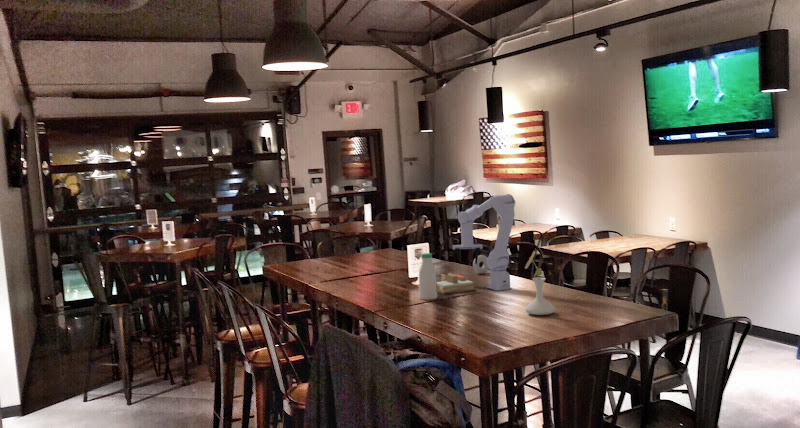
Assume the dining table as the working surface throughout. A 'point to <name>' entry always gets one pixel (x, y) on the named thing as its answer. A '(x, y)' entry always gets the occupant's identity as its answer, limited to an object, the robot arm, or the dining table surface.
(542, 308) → the flower in vase
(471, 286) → the wooden box
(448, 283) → the pale green plate
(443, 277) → the key channel
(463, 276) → the salmon orange bar
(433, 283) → the milk bottle
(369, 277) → the dining table surface
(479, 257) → the donut
